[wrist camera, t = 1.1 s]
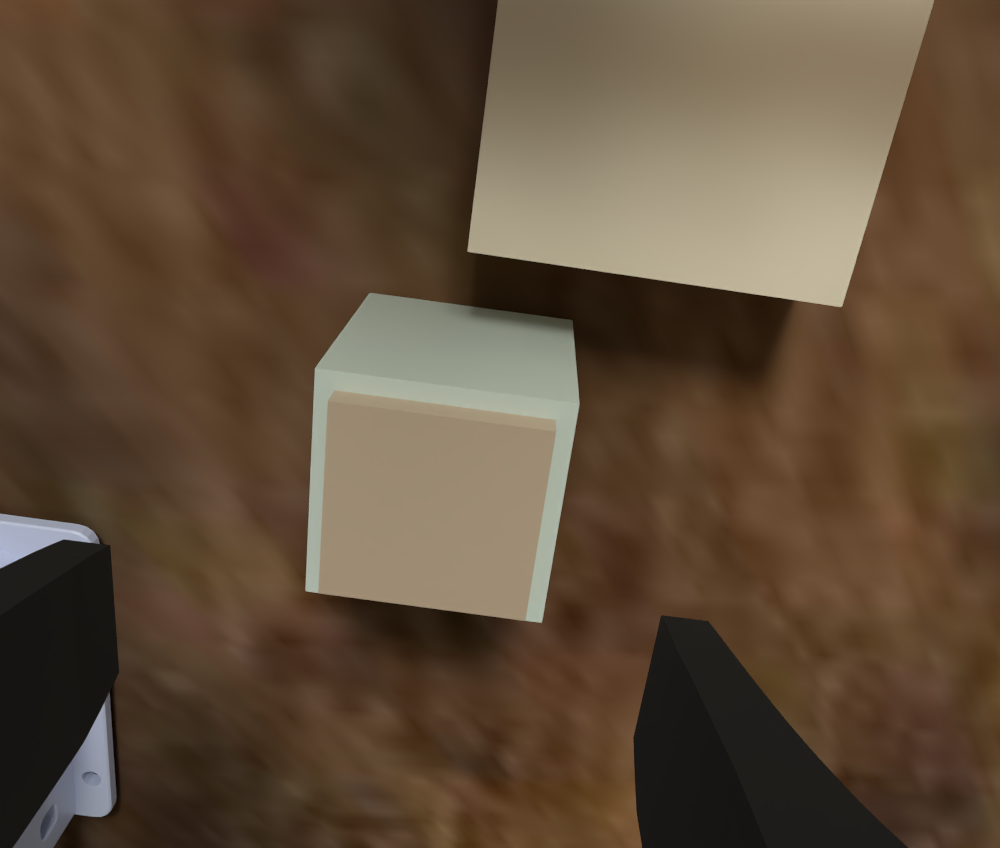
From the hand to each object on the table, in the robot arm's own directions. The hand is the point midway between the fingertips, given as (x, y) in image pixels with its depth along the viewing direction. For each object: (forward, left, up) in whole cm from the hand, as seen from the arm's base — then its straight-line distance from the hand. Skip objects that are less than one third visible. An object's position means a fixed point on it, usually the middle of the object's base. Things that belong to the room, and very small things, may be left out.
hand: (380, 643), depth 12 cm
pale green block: (0, 0, -10) cm, 10 cm away
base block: (+7, -4, -10) cm, 13 cm away
